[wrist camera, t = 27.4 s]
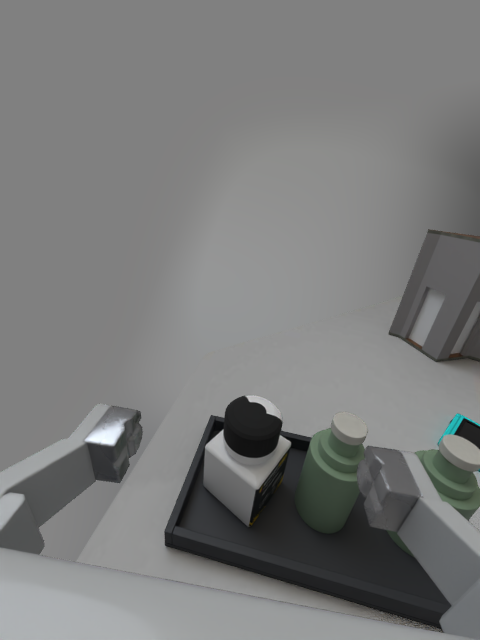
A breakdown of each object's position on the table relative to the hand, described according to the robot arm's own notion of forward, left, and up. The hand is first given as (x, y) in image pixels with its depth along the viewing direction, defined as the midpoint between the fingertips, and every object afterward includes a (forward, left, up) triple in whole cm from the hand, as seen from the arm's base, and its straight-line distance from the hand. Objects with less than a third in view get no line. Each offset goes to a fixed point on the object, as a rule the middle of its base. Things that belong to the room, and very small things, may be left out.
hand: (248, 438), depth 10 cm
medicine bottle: (-1, +14, -25) cm, 28 cm away
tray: (+9, +14, -25) cm, 30 cm away
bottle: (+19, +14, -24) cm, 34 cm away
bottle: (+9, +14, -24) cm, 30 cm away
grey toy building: (+40, +60, -25) cm, 76 cm away
